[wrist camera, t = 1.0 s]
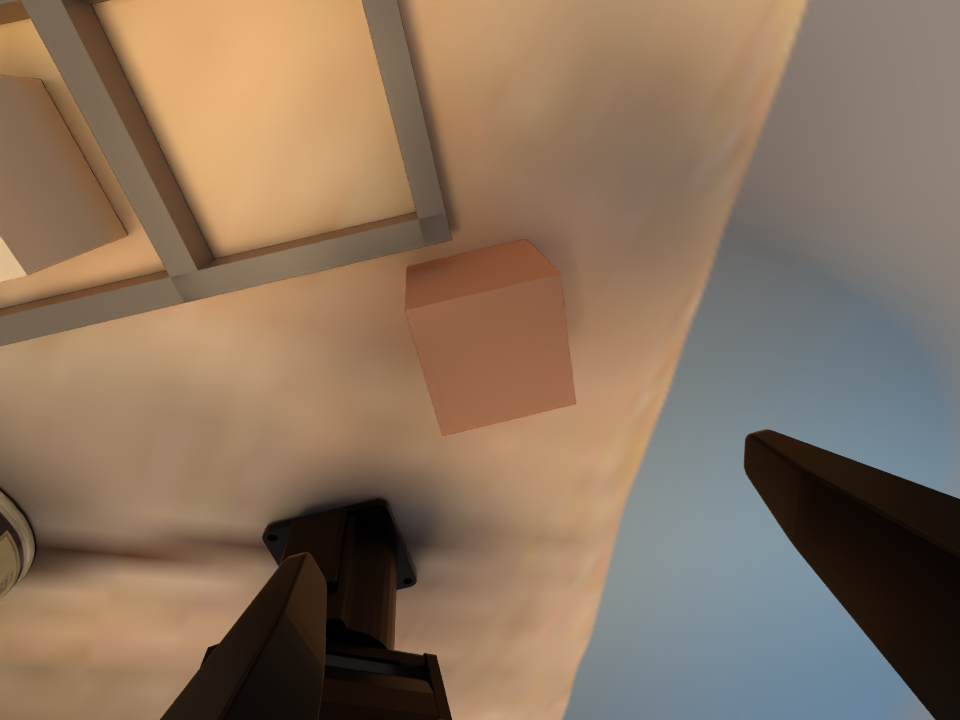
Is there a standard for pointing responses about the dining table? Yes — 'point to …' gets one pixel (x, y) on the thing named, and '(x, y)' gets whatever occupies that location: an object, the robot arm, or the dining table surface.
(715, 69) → the dining table surface
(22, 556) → the coffee can
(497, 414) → the terracotta block
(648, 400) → the dining table surface
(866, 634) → the robot arm
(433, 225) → the charcoal frame
